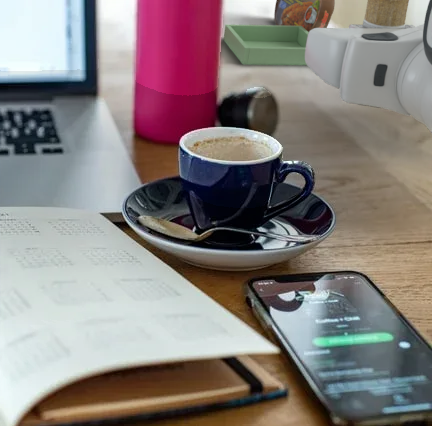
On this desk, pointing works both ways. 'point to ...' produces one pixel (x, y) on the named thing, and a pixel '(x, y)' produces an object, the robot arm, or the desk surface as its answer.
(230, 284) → the desk surface
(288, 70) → the desk surface
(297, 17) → the tin
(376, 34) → the robot arm
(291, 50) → the tray
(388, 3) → the sprinkles bottle
